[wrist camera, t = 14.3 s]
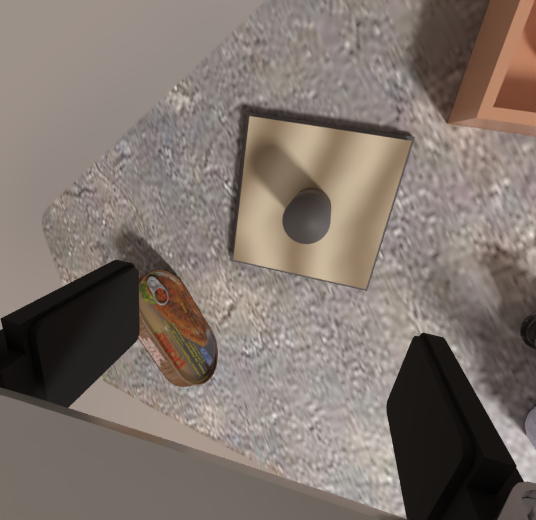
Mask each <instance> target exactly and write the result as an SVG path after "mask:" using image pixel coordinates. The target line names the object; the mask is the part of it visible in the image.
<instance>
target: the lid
mask: <svg viewBox="0 0 536 520" xmlns="http://www.w3.org/2000/svg"><path fill="white" fill-rule="evenodd" d="M411 142H412V141H409V140H403V139H396V138H390V137H383V136H377V135H370V134H364V133H357V132H351V131H344V130H337V129H331V128H324V127H318V126H311V125H305V124H298V123H292V122H285V121H279V120H272V119H266V118H259V117H253V116H249V125H248V134H247V142H246V151H245V160H244V169H243V178H242V186H241V195H240V204H239V213H238V222H237V231H236V239H235V248H234V257H233V260H237V261H241V262H246V263H250V264H255V265H259V266H264V267H268V268H273V269H277V270H282V271H286V272H291V273H295V274H300V275H304V276H309V277H313V278H318V279H322V280H327V281H331V282H336V283H340V284H345V285H349V286H354V287H358V288H363V289H366V287H367V284H368V281H369V278H370V275H371V271H372V268H373V265H374V262H375V258H376V255H377V252H378V249H379V245H380V242H381V239H382V236H383V232H384V229H385V226H386V223H387V219H388V216H389V213H390V210H391V207H392V203H393V200H394V197H395V194H396V190H397V187H398V184H399V181H400V177H401V174H402V171H403V168H404V164H405V161H406V158H407V155H408V151H409V148H410V145H411Z"/></svg>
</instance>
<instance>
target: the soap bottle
mask: <svg viewBox="0 0 536 520" xmlns="http://www.w3.org/2000/svg"><path fill="white" fill-rule="evenodd" d="M525 430H526V435H527V437H528V438H529V440H530V441H531V443H532V444H533V446H534V447H535V449H536V406H535V407H534V408H533V409H532V410H531V411H530V412H529V413H528V416H527V418H526V421H525Z"/></svg>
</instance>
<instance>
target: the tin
mask: <svg viewBox="0 0 536 520" xmlns="http://www.w3.org/2000/svg"><path fill="white" fill-rule="evenodd" d="M139 319H140V334H139V337H138V339H139V340H140V342H141V343H142V344H143V346H144V347H145V349H146V350H147V352H148V353H149V355H150V356H151V357H152V359H153V360H154V362H155V363H156V365H157V366H158V368H159V369H160V370H161V372H162V373H163V375H164V376H165V378H166V379H167V380H168V381H169V382H171V383H172V384H174V385H176V386H180V387H187V386H192V385H201V384H204V383H206V382H207V381H208V380H209V379H210V378H211V377H212V375H213V374H214V371H215V369H216V365H217V359H218V349H217V343H216V339H215V336H214V334H213V332H212V330H211V328H210V327H209V325H208V323H207V322H206V320H205V319H204V317H203V315H202V314H201V312H200V310H199V309H198V307H197V306H196V304H195V302H194V301H193V299H192V297H191V296H190V294H189V292H188V291H187V289H186V287H185V286H184V284H183V283H182V282H181V281H180V280H179V279H178V278H177V277H176V276H175V275H173V274H172V273H170V272H168V271H164V270H154V271H151V272H149V273H147V274H146V275H144V276H142V277H140V278H139Z"/></svg>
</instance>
